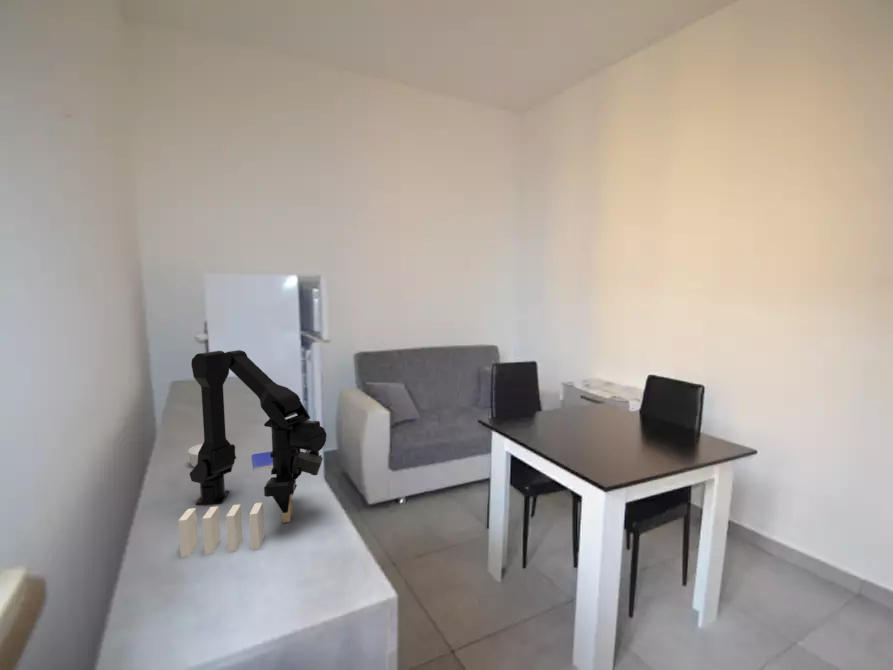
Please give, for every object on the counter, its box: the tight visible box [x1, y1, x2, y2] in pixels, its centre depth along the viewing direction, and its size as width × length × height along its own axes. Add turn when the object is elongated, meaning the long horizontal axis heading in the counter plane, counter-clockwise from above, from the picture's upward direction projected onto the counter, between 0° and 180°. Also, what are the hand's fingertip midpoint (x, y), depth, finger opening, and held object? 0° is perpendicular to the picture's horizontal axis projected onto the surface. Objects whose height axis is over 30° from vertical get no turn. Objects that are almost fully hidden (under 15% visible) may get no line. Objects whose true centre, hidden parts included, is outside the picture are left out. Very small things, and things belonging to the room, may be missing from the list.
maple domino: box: [281, 494, 294, 524], centre depth 106 cm, size 5×2×8 cm, turn 10°
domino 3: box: [225, 504, 243, 553], centre depth 94 cm, size 5×2×8 cm, turn 10°
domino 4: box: [248, 502, 265, 551], centre depth 95 cm, size 5×2×8 cm, turn 10°
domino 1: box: [177, 507, 199, 558], centre depth 93 cm, size 5×2×8 cm, turn 10°
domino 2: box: [202, 505, 222, 556], centre depth 94 cm, size 5×2×8 cm, turn 10°
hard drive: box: [251, 450, 273, 471], centre depth 142 cm, size 2×8×12 cm
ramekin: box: [187, 443, 203, 468], centre depth 140 cm, size 11×11×5 cm
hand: (287, 507), depth 106 cm, fingers closed on maple domino, 5 cm apart
